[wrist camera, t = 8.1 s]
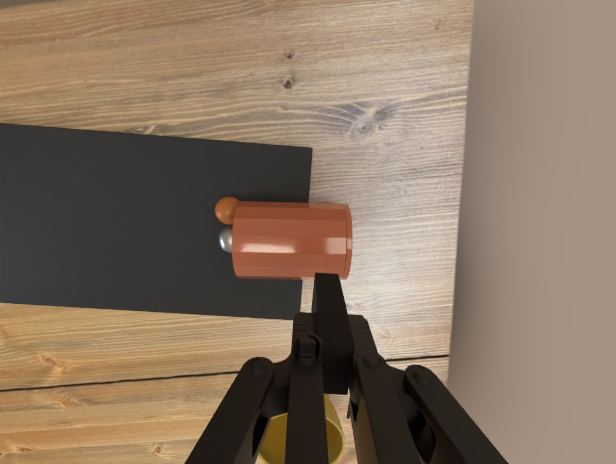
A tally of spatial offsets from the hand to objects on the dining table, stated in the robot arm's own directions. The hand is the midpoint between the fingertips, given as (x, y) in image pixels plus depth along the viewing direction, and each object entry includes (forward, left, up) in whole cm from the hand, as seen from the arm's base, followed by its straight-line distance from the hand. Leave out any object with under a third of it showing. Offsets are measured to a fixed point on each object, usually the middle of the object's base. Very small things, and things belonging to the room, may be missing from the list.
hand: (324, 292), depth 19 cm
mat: (+21, -10, -14) cm, 27 cm away
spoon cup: (-2, +1, -9) cm, 10 cm away
